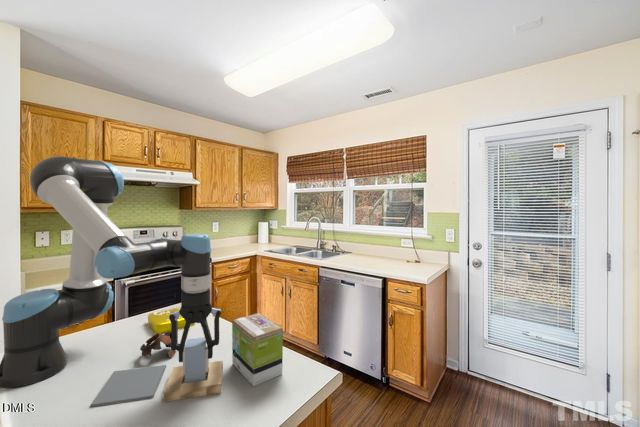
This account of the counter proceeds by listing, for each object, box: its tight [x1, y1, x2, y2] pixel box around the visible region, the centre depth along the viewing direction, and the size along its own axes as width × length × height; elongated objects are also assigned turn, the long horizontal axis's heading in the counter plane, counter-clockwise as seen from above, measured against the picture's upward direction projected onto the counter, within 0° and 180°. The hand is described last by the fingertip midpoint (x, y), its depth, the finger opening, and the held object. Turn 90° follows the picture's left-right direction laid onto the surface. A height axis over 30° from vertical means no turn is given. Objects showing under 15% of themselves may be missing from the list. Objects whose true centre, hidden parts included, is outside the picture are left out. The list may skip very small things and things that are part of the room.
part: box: [184, 336, 207, 383], centre depth 83 cm, size 5×5×12 cm
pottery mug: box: [139, 331, 177, 359], centre depth 99 cm, size 12×10×8 cm
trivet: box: [89, 364, 167, 408], centre depth 83 cm, size 14×15×1 cm
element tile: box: [147, 306, 195, 335], centre depth 123 cm, size 15×15×5 cm
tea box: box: [231, 312, 284, 387], centre depth 91 cm, size 15×10×15 cm, turn 40°
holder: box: [163, 360, 224, 402], centre depth 83 cm, size 14×12×2 cm
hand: (196, 370), depth 83 cm, fingers closed on part, 5 cm apart
